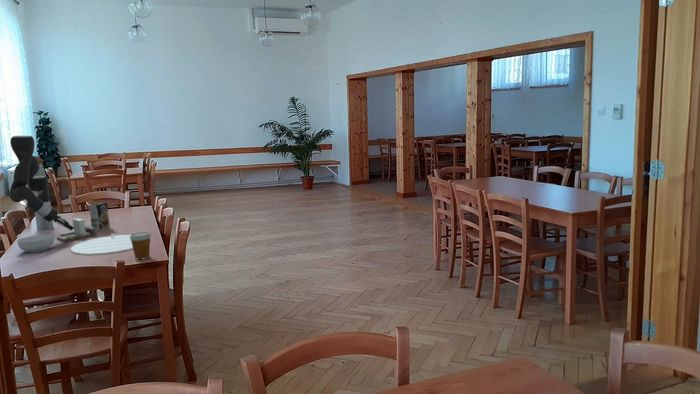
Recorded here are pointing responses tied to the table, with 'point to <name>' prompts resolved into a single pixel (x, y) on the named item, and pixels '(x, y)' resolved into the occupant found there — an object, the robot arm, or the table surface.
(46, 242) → the cereal bowl
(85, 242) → the lazy susan
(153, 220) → the table surface
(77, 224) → the pale green rectangular block
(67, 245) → the table surface
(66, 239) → the track
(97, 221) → the coffee box
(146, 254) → the beer glass
